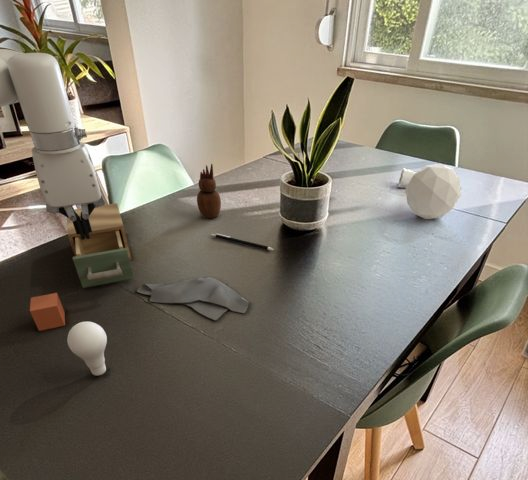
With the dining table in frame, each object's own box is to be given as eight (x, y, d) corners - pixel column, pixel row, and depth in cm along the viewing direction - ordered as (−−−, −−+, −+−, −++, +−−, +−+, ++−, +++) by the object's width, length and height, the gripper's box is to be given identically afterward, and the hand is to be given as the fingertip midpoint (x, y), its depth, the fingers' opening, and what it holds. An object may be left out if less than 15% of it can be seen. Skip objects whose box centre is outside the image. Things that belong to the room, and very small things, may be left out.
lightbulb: (80, 367, 78) (61, 319, 70) (115, 358, 79) (99, 310, 72) (83, 390, 73) (63, 341, 66) (120, 379, 75) (103, 331, 68)
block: (38, 331, 86) (29, 311, 83) (39, 317, 89) (30, 297, 86) (65, 325, 87) (56, 305, 84) (64, 312, 91) (56, 292, 87)
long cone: (458, 200, 137) (398, 189, 139) (456, 194, 142) (397, 184, 144) (465, 181, 134) (403, 171, 136) (462, 177, 139) (403, 166, 141)
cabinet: (131, 259, 107) (123, 225, 101) (79, 269, 104) (67, 234, 98) (125, 235, 118) (117, 203, 112) (77, 243, 115) (66, 210, 109)
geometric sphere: (428, 238, 125) (436, 211, 111) (393, 206, 130) (396, 175, 116) (466, 207, 125) (479, 175, 110) (429, 175, 129) (437, 141, 115)
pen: (212, 235, 117) (212, 231, 116) (275, 250, 110) (275, 246, 109) (211, 236, 116) (210, 233, 115) (273, 252, 109) (273, 248, 108)
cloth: (262, 293, 95) (262, 285, 93) (231, 327, 86) (230, 318, 84) (168, 267, 104) (167, 259, 103) (131, 295, 95) (128, 287, 94)
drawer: (136, 289, 95) (129, 260, 91) (83, 299, 93) (73, 270, 88) (127, 252, 109) (120, 225, 104) (80, 260, 106) (71, 232, 101)
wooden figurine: (225, 214, 127) (221, 162, 117) (214, 222, 123) (209, 168, 113) (207, 210, 130) (201, 158, 120) (195, 217, 126) (188, 164, 116)
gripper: (98, 129, 79) (121, 223, 91) (10, 138, 75) (46, 234, 87) (102, 140, 74) (125, 238, 86) (7, 150, 70) (46, 251, 82)
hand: (85, 236), depth 87 cm, fingers closed
